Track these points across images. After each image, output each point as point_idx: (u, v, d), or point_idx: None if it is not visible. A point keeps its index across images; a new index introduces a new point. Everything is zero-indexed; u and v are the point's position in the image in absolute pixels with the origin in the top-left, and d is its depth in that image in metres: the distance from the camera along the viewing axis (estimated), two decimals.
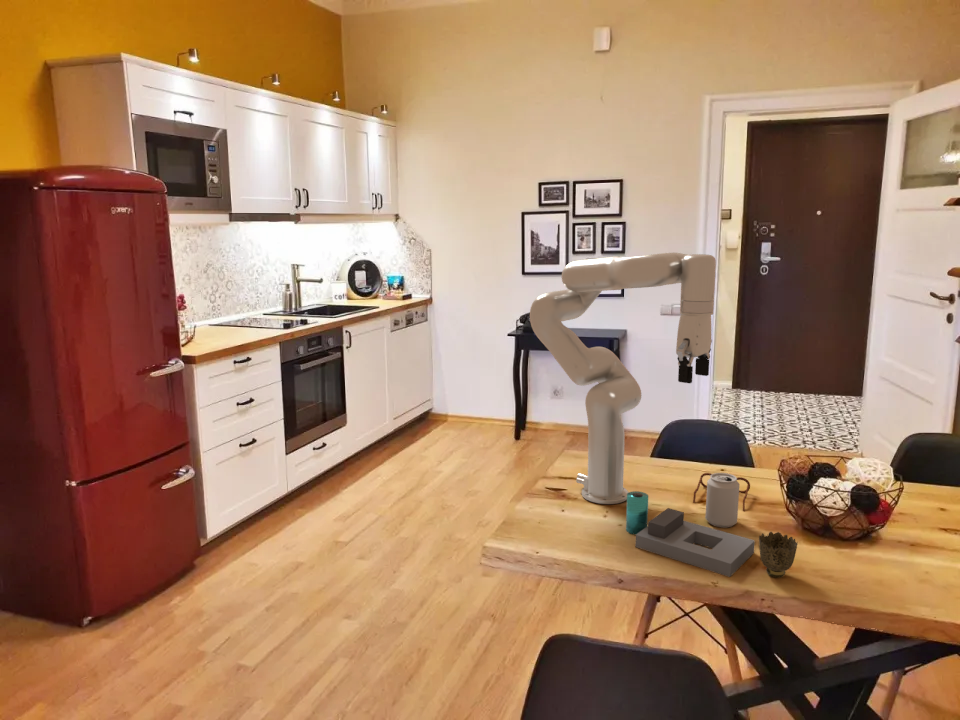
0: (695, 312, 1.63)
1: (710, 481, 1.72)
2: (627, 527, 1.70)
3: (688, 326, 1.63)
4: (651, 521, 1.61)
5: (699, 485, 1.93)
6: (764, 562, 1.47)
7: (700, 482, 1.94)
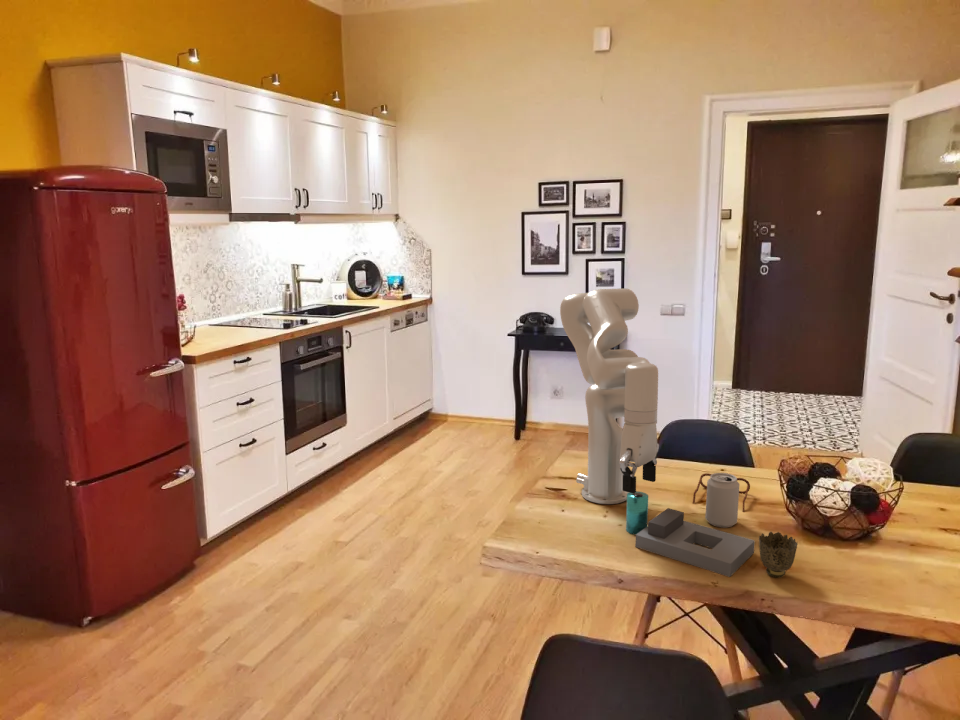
0: (638, 422, 1.62)
1: (710, 481, 1.72)
2: (627, 527, 1.70)
3: (631, 436, 1.62)
4: (651, 521, 1.61)
5: (699, 485, 1.93)
6: (764, 562, 1.47)
7: (700, 482, 1.94)
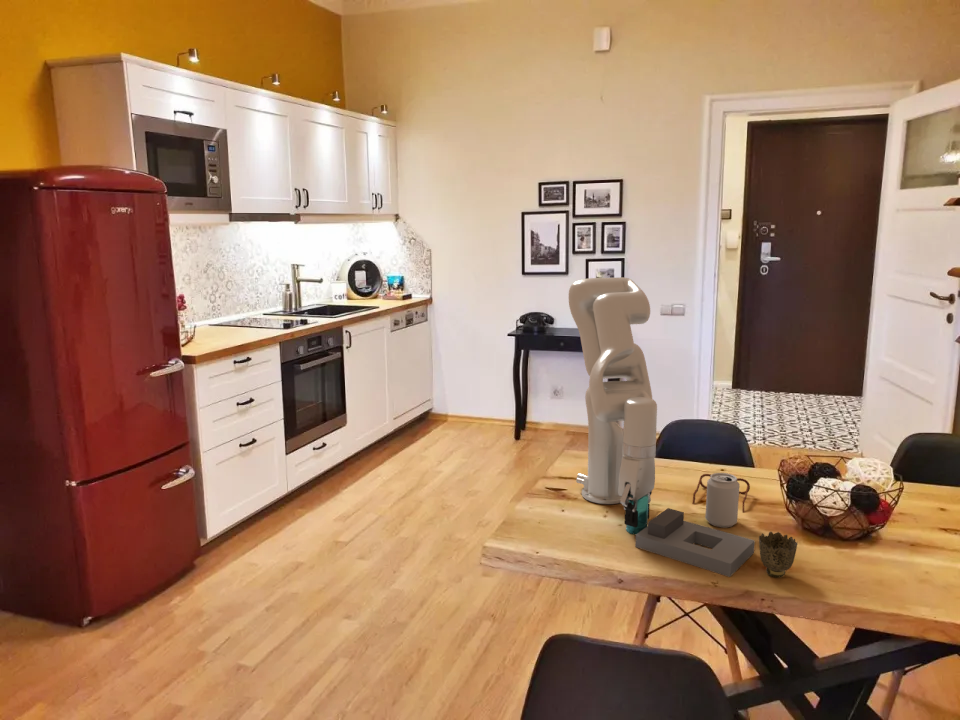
0: (636, 457, 1.63)
1: (710, 481, 1.72)
2: (627, 527, 1.70)
3: (629, 470, 1.64)
4: (651, 521, 1.61)
5: None
6: (764, 562, 1.47)
7: (700, 483, 1.94)
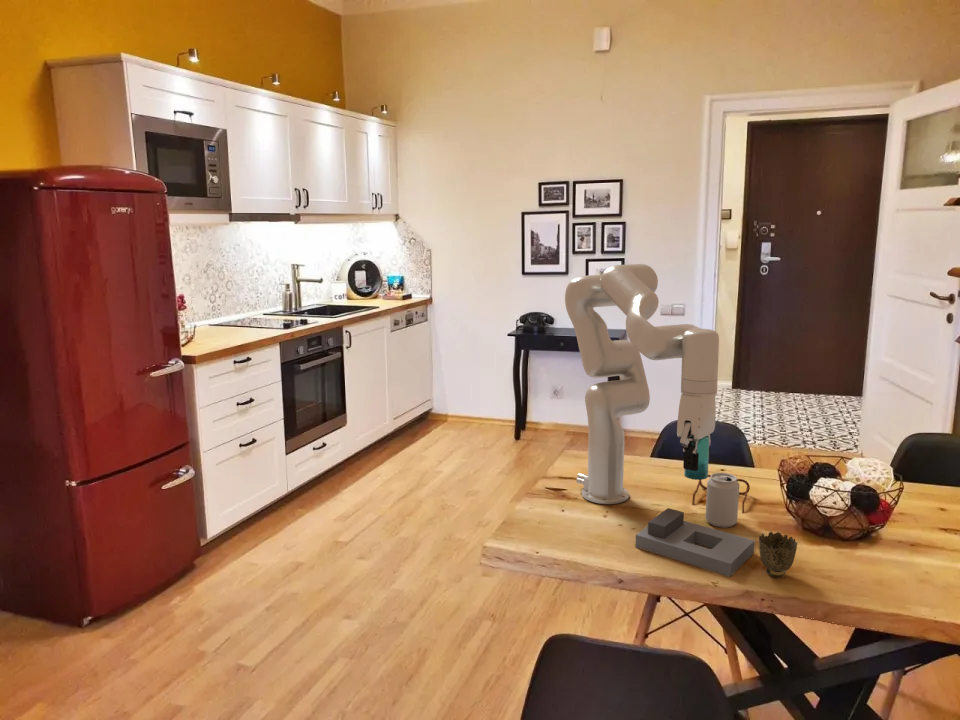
0: (697, 392, 1.50)
1: (710, 481, 1.72)
2: (686, 472, 1.56)
3: (689, 407, 1.50)
4: (651, 521, 1.61)
5: (698, 487, 1.92)
6: (764, 562, 1.47)
7: (699, 484, 1.93)
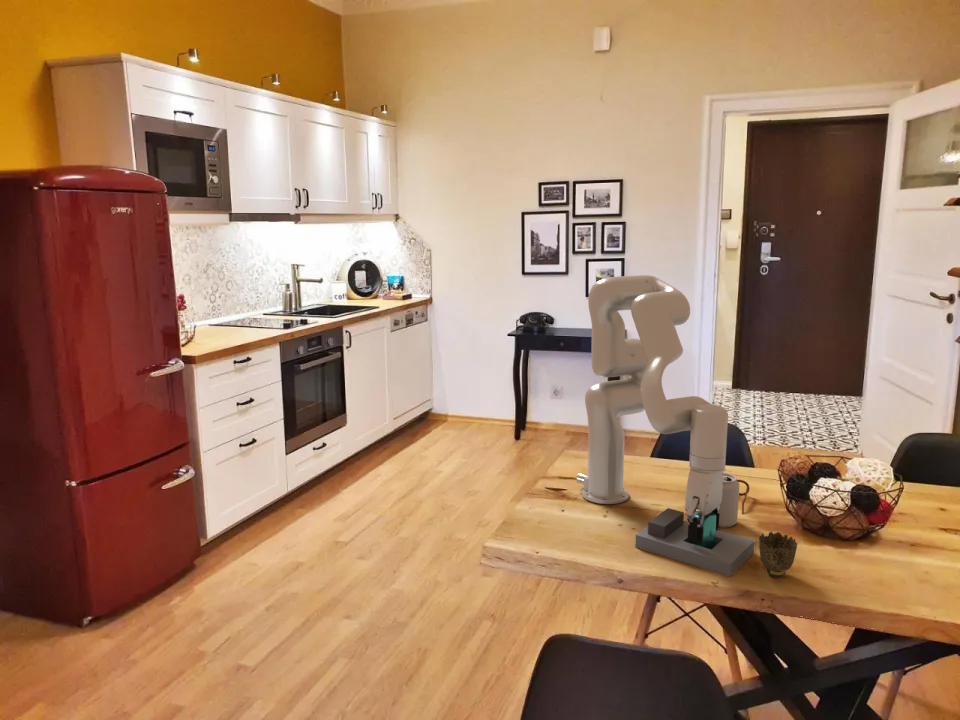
0: (705, 469, 1.52)
1: None
2: None
3: (698, 484, 1.52)
4: (651, 521, 1.61)
5: None
6: (764, 562, 1.47)
7: None
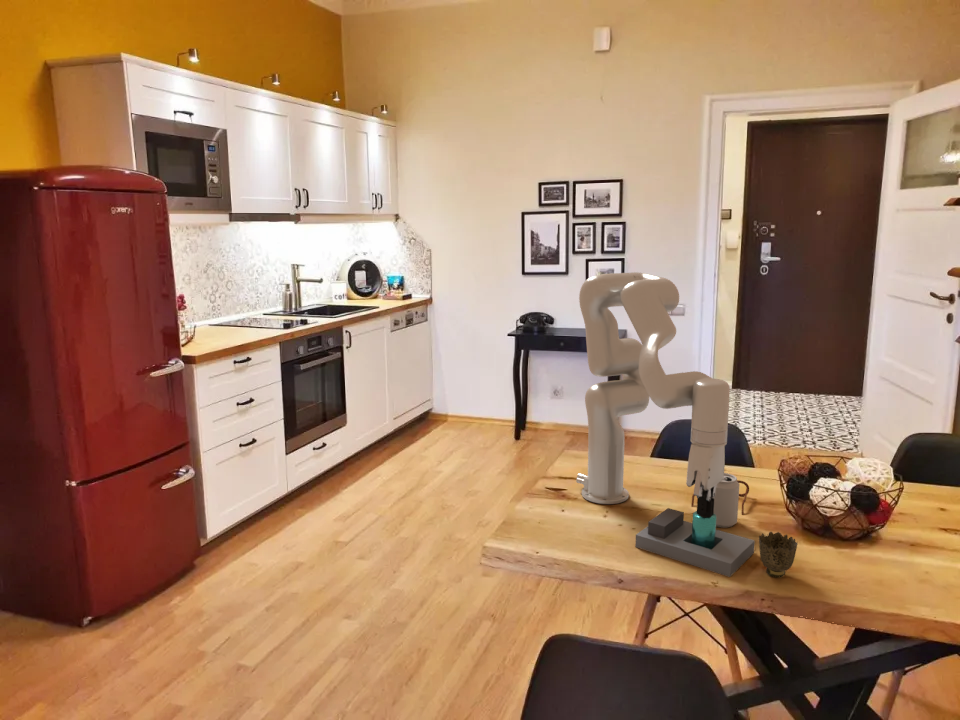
0: (707, 443, 1.50)
1: None
2: None
3: (699, 458, 1.51)
4: (651, 521, 1.61)
5: None
6: (764, 562, 1.47)
7: None
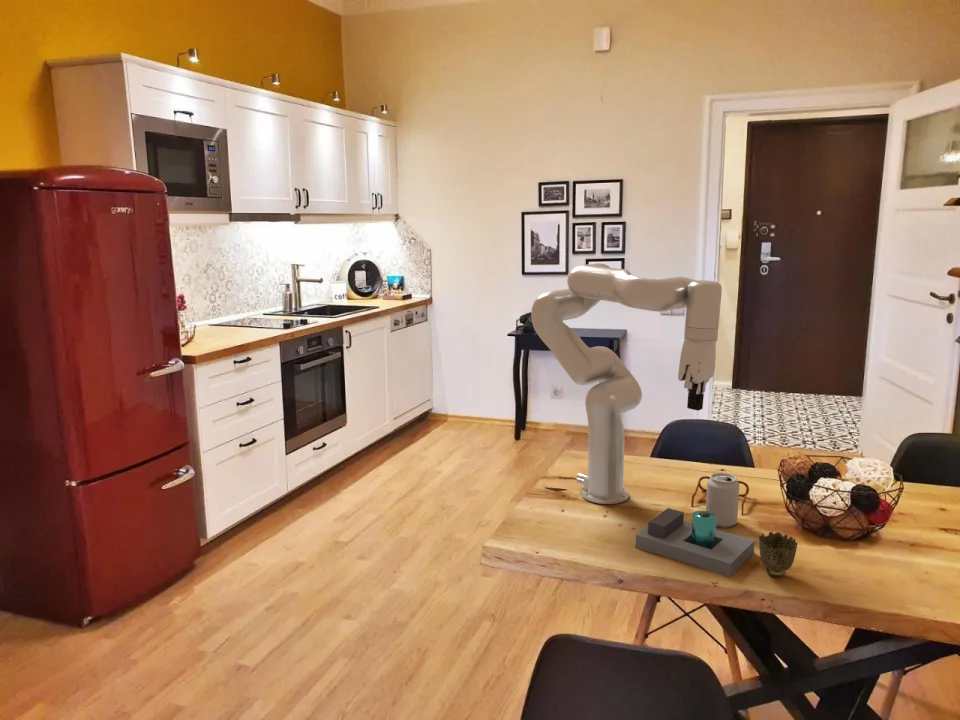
0: (698, 339, 1.63)
1: (710, 481, 1.72)
2: None
3: (691, 353, 1.63)
4: (651, 521, 1.61)
5: (697, 489, 1.90)
6: (764, 562, 1.47)
7: (698, 485, 1.92)
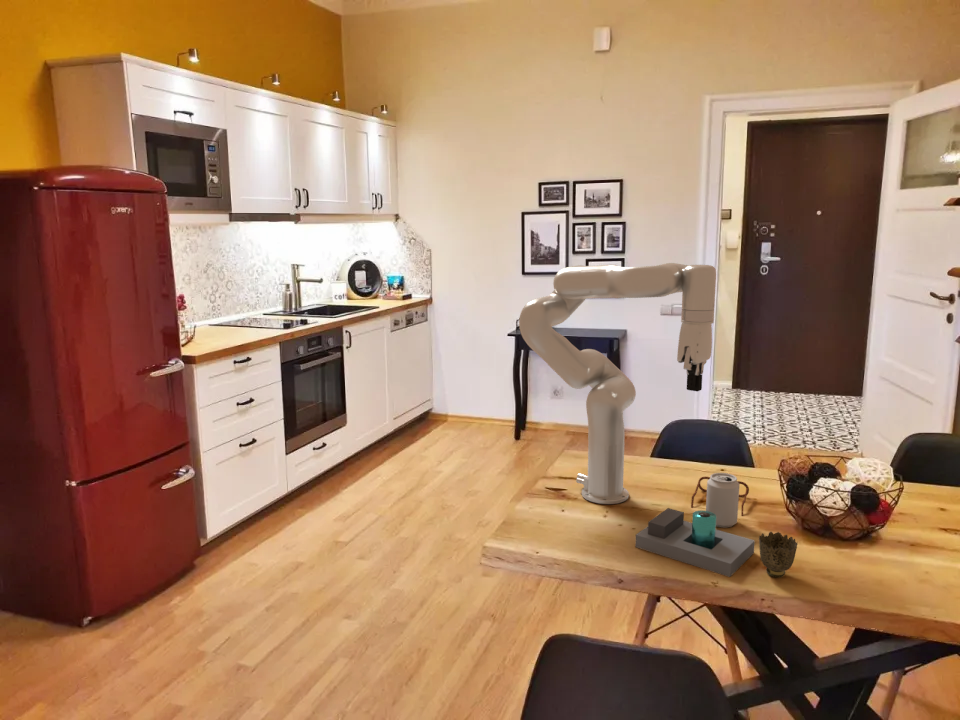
0: (696, 321, 1.68)
1: (710, 481, 1.72)
2: None
3: (689, 334, 1.68)
4: (651, 521, 1.61)
5: (697, 489, 1.90)
6: (764, 562, 1.47)
7: (698, 486, 1.91)
